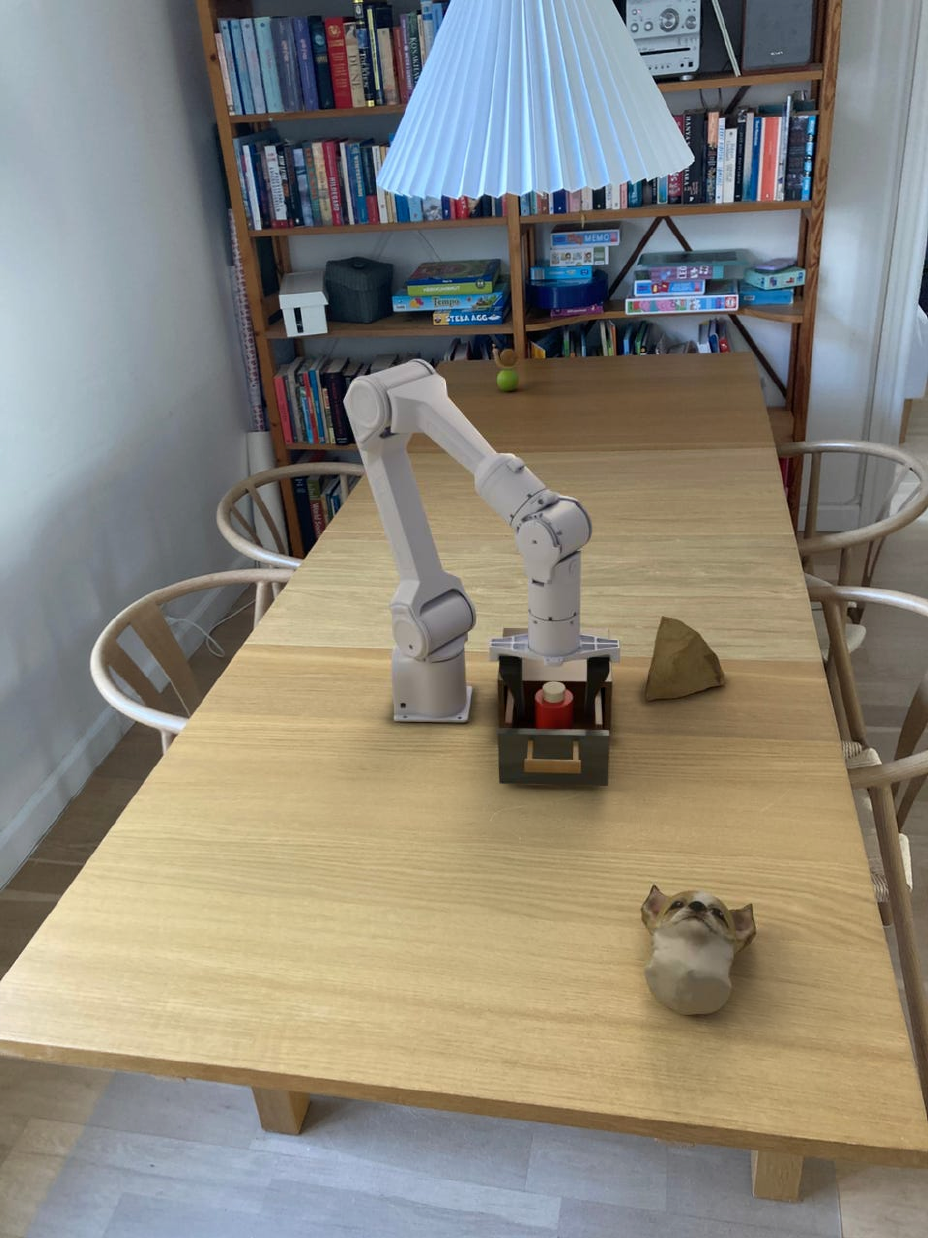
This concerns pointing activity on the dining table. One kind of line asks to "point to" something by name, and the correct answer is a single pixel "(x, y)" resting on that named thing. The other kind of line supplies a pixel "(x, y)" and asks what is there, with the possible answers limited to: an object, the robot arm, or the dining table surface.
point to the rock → (681, 662)
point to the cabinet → (556, 676)
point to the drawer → (553, 745)
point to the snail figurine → (506, 369)
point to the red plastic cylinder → (554, 707)
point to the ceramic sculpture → (693, 948)
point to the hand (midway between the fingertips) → (554, 711)
